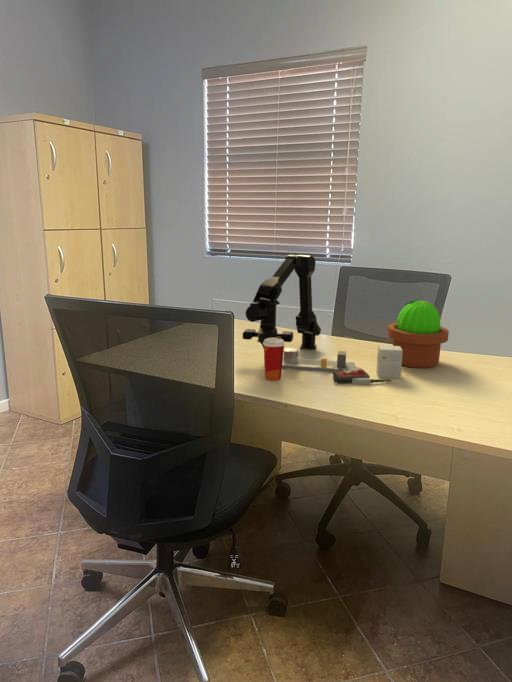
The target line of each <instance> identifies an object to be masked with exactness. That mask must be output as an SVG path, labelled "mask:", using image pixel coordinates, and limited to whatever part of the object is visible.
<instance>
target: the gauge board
mask: <svg viewBox="0 0 512 682" xmlns="http://www.w3.org/2000/svg"><path fill="white" fill-rule="evenodd" d="M351 368H356V362H350V361H347V351H345V350H343V351H342V350H338V351H337V360H336V361H334V360H327V366H326V367H321V359H308V358H307V359H306V358H298V361H297V363H296V364H295V363H284V357H283V363H282V370H284V369H285V370H296V371H298V370H299V371H310V372H311V371H313V372H324V373H326V372H327V373H333V372H336V371H343V369H344V370H346V371H348V370H349V369H351Z"/></svg>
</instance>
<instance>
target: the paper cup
mask: <svg viewBox="0 0 512 682" xmlns="http://www.w3.org/2000/svg"><path fill="white" fill-rule="evenodd" d="M263 345H264V348H263V361H264V364H263V365H264V378H265V380H266V381H269V382H277V381H281V379H282V375H283V374H282V372H283V369H282V363H283V358H284V350H285V348H284V347H285V345H286V342H284V340H283V339H282V340H281V339H279V338H267V339H265V340H264V342H263Z"/></svg>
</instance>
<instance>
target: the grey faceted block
mask: <svg viewBox="0 0 512 682" xmlns="http://www.w3.org/2000/svg"><path fill="white" fill-rule="evenodd" d="M283 358H284V363H295V364H296V363H297V361H298V359H299V348H294V347H293V348H292V347H285V348H284V351H283Z"/></svg>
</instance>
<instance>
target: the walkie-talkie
mask: <svg viewBox="0 0 512 682" xmlns="http://www.w3.org/2000/svg"><path fill="white" fill-rule="evenodd" d="M332 380H334V383H336V384H338V385H341V384H342V385H343V384H345V385H346V384H347V385H349V384H352V385H356V386H363V385H364V386H370V385H371V384H374V383H384V382H385V383H386V382H392V378H381V379H380V378H379V379H376V378H375V379H373V378H371V376H370V375H369V373H368V372H367V371H365V370H364V369H363V368H361V367H355V368H351V369H349V370H348V371H346V370H344V369H343V371H336V372H332Z"/></svg>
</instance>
